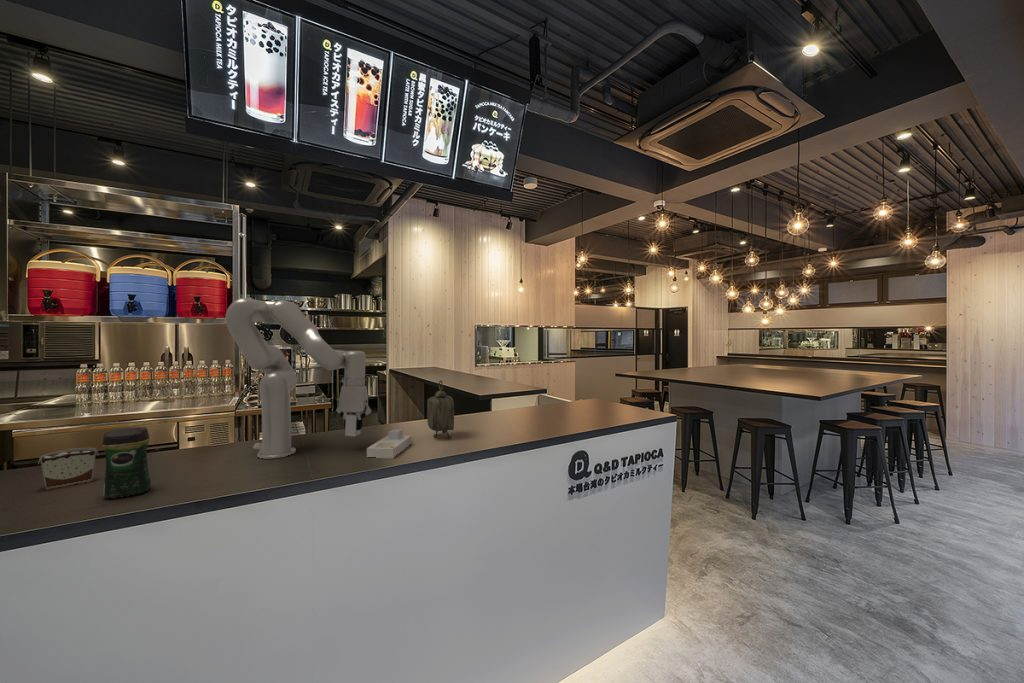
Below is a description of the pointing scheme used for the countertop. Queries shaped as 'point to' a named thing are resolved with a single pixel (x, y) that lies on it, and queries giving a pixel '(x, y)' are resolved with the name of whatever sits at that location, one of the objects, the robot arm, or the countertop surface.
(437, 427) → the dark lantern
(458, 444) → the countertop surface
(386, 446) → the power strip
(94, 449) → the food container
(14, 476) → the countertop surface
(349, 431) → the plug
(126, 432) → the coffee jar
